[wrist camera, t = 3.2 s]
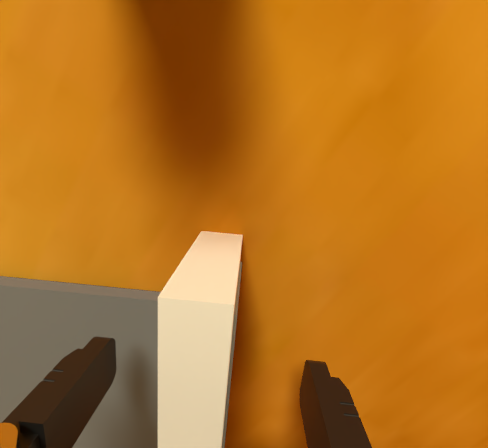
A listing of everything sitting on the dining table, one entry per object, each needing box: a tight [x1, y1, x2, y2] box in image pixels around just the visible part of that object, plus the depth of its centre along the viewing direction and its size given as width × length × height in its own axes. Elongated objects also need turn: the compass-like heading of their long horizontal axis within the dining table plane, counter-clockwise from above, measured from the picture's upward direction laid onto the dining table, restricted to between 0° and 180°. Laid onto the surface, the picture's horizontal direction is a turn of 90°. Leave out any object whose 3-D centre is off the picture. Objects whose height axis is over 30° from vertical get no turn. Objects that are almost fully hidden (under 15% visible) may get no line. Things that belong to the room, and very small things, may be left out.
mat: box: [0, 276, 161, 448], centre depth 16 cm, size 20×16×1 cm
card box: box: [158, 231, 243, 448], centre depth 11 cm, size 9×2×6 cm, turn 175°
